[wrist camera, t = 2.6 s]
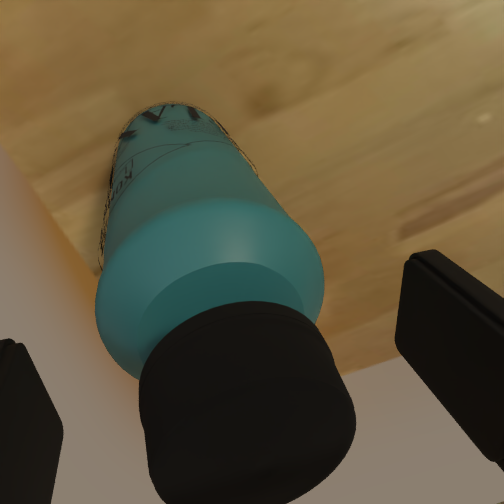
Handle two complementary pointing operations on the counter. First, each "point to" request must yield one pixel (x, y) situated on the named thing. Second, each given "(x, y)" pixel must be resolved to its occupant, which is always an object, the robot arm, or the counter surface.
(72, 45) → the counter surface
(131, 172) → the beverage bottle
